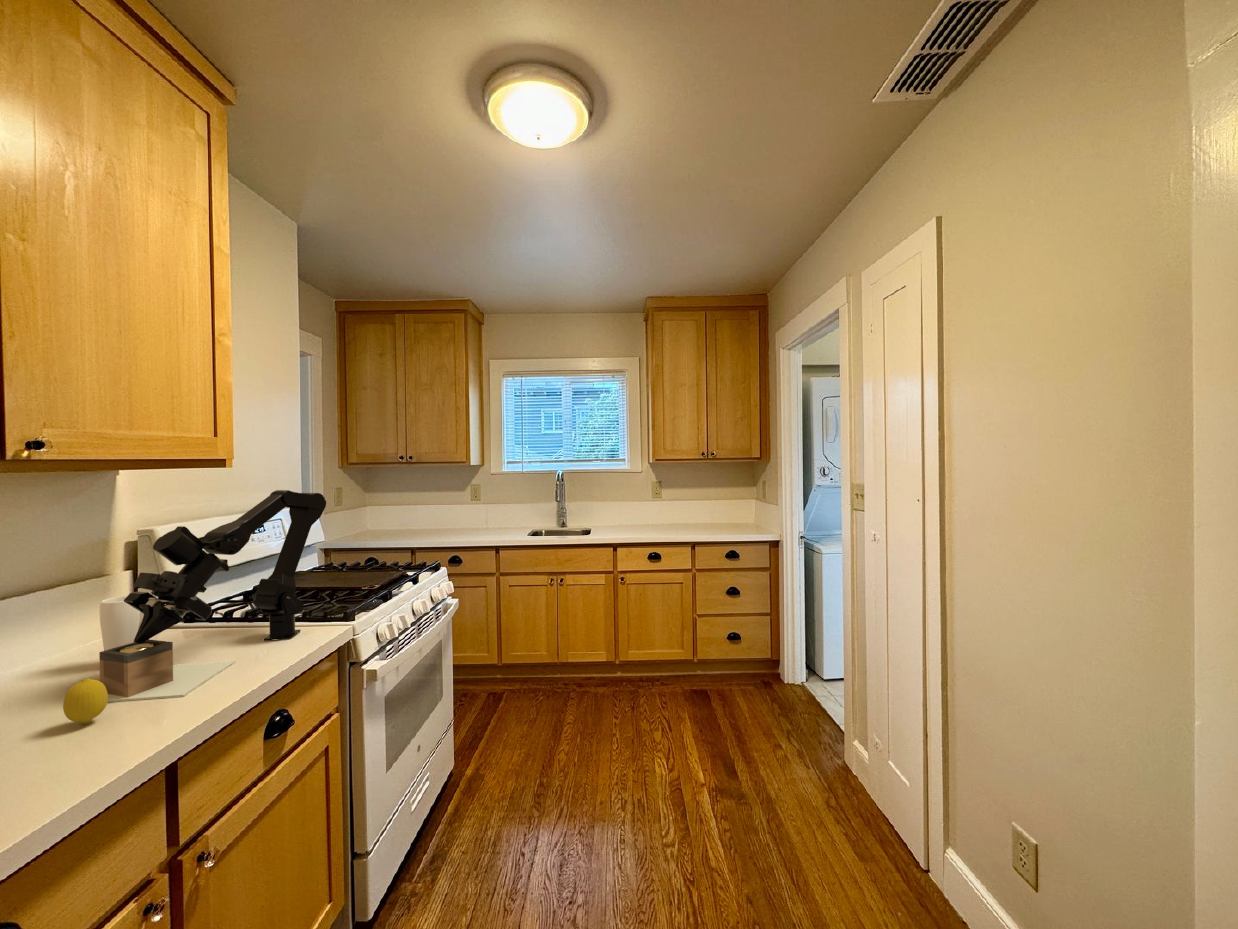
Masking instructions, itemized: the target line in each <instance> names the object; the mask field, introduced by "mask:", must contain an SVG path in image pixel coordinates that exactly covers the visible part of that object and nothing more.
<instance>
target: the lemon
mask: <svg viewBox="0 0 1238 929" xmlns="http://www.w3.org/2000/svg"><path fill="white" fill-rule="evenodd" d="M107 701H108V694H107V689H106V687H105V685H104V684H103V683H102V682H100V680H97V679H90V678H83V679H82V680H81V681H79V682H77V683H75V684H73V685H72V686H71V687H70V688H69V689H68V691H67V692H66V694H65V696H64V699H63V704H62V708H63V714H64V715H65V717H66V719H68V720H69V721H72V722H73V723H81V724H82V725H88V724H89V723H91V721H92V720H93V719H95V718H97V717H98V716H100V715H101V714H102V712H103V711H104V710H105V708H106V707H107V704H108V702H107Z"/></svg>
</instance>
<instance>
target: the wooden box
mask: <svg viewBox="0 0 1238 929" xmlns="http://www.w3.org/2000/svg"><path fill="white" fill-rule="evenodd" d="M146 643H150V644H153V647H150V648H146V649H143V650H140V651H136V652H133V653H124V652H120V650H121V649H123V648H126V647H129V646H133V645H138V644H137V643H135V642H133V643H130V644H126V645H123V646H119V647H116V648H112V649H109V650H105V651H104V650H102V651H99V654H98V655H99V681H100V682H102V683H103V684H104V685H105V687H106V689H107V694H110V695H117V696H123V697H131V696H133V695H136V694H139V693H141V692H144V691H147V690H150V689H152V688H155V687H158V686H160V685H163V684H166V683H169V682H171V681H173V665H174V655H173V654H174V650H173V649H174V648H173V647H174V643H173V642H172V641H165V640H157V639H148V640H146V641H145V642H143V643H141V644H146Z"/></svg>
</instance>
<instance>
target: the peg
mask: <svg viewBox="0 0 1238 929" xmlns="http://www.w3.org/2000/svg"><path fill="white" fill-rule="evenodd" d="M150 647H153V644H150V643H146V644H138V645H133V646H129V647H126V648H123V649H121V650H120V652H124V653H133V652H136V651H140V650H143V649H146V648H150Z"/></svg>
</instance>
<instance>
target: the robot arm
mask: <svg viewBox="0 0 1238 929" xmlns="http://www.w3.org/2000/svg"><path fill="white" fill-rule="evenodd" d="M326 506H327V500H326V498H325V496H324V495H323V494H322V493H319V492H295V491H291V490H289V489H288V490H287V489H286V490H285V489H280V490H279V489H277V490H274V491H272V492H271V493H270V494H269V495H268V496H267V497H266V498H264V499H263V500H261V501H260V502H259V503H257V504H256V505H255V506H253V507H251V508H250V509H249V510H248V511H247V512H245V513H244V514H242V515H241V516H240V517H237V519H236V520H232V521H231V522H227V523H225V524H222V525H219V526H217V527H216V528H213V529H210V530H209V531H208V532H207V533H205V535H204V536H200V537H197V536H196V535H195V534H194V533H192V532H191V531H190V529H189V528H188V527H186V526H185V525H184V526H182V525H181V526H179V525H178V526H176V527H175V528H174V529H173V530H170V531H168V532H167V533H165V534H163V535H161V536H159V537H158V538H157V539H156V540H155V542H154V544H153V545H152V549H153V550H154V551H155V552H156V553H158V555H161V556H162V557H164V559H166V560H167V561H168V562H170V563H171V564H173V565H174V566H182V565H183V567H182V568H181V569H180V570H179V571H178V572H176V571H170V570H165V571H163V572H162V573H161V574H160V573H152V572H139V575H137V578H136V581H135V582H134V585H133V588H134V589H144V590H149V591H151V592H148V591H134V592H130V593H129V594H127V595H126V596H127V597H126V598H125V599H124V602H125V603H127V604H129V605H130V606H132V607H133V608H135V609H137V610H138V611H140V613H142V614H143V616H142V620H141V622H140V624H139V629H138V632H137V634H136V636H135V639H134V642H135V643H137V644H141V643H143V642H145V641H146V640H148V639H149V640H151V639H152V638H154V637H155V636H157V635H159V634H160V633H162V632H164V631H166V630H168V629H170V628H171V627H173V626H175V625H178V624H179V623H183V622H184V621H186V619H185V618H184V616H185V615H186V614H187V613H193V614H194V620H196V621H204V622H205V621H207V619H208V618H209V617H210V616H211V615H212V612H213V610H212V608H213V607H212V606H211V605H209V604H208V603H207V602H205V601H204V600H202V599H201V598H200V597H198V596H197V595H198V594H199V593H201V594H202V593H203V594H205V592H206V591H207V589H208V588H206V587H205V585H206V584H207V583H208V582H209V581H210V580H211V578H212V577H213V576H214V575H215V574H216V573H217V571H218V572H229V571H230V566H229V564H228V563H229V562H228V561H229V560H228V559H223V558H222V559H221V558H219V556H217V555H222V556H223V555H224V556H225V555H226V556H233V555H235V554H237V553H239V552H241V550H242V549H243V548H244V547H245V546H246V545H247V544H248V542H249V541H250V539H251V536H252V535H253V533H254V532H255V531H257V530H258V529H259V528H260V527H262V526H263V525H264V524H266V523H267V522H268V521H270V520H271V519H272V518H273V517H275V516H277V514H278V513H280V512H281V511H282V510H284V509H285V508H287V509H288V513H289V516H290V517H289V518H290V524H289V527H288V531H287V533H286V535H285V539H284V541H283V544H282V547H281V550H280V553H279V555H278V558H277V561H276V564H275V565H274V569H273V572H272V573H271V575H270V576H268V578H261V579H260V580H259V582H258V586H257V589H256V591H255V592H254V595H255V599H254V600H255V604H256V605H257V607H258V608H259V610H260V612H261V614H262V615H269V618H268V619H269V620H268V621H269V634H268V635H266V636H265V637H264V638H263V641H273V640H272V639H279V640H289V638H290V639H293V637H295V636H296V635H298V634H299V633H301V629H296V615H298V614H299V613H302V612H303V609H304V605H305V604H304V602H303V601H301V599H299V598H298V597H296V590H297V586H296V581H295V575H296V572H297V568H298V566H299V563H300V560H301V557H302V554H303V553H304V552H303V551H304V548H305V546H306V543H307V539H308V537H309V533H310V531H311V528H312V526H313V525H314V524H315V523H316V522H317V521H318V520H319V519H320V518H321V517H322V516H323V513H324V511H325V509H326ZM298 632H299V633H298ZM297 633H298V634H297ZM295 634H296V635H295ZM294 635H295V636H294Z"/></svg>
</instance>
